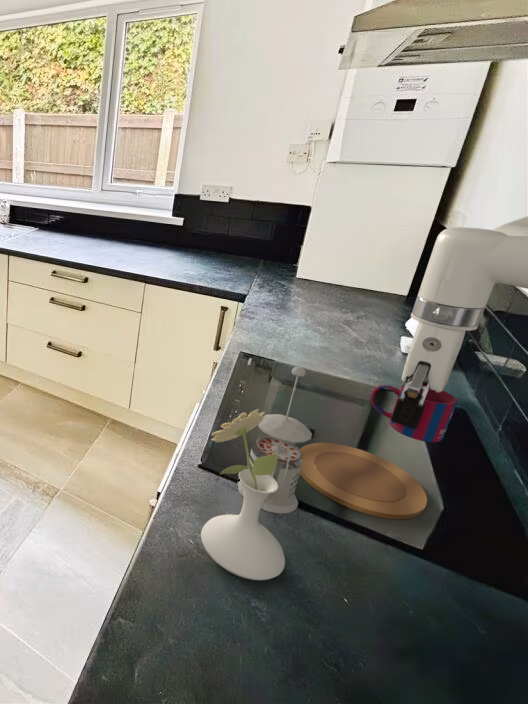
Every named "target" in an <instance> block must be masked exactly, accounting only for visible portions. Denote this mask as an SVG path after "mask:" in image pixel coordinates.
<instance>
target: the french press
mask: <svg viewBox="0 0 528 704" xmlns="http://www.w3.org/2000/svg"><path fill="white" fill-rule="evenodd" d="M291 374H292V375H294V376H296V377H295V381H294V385H293V388H292V393H291V397H290V402H289V404H288V408H287V412H286V415H285V414H280V413H274V414H273V413H272V414H270V413H269V414H264V415H265V417H264V418H263V420H262V421H261V422H260V424H259V425H257V426H258V428H259V430H261V432H263V433H264V434H265V435H262V436H259V437H257V438H256V440H255V442H254V444H253V445H252V446H251V448H250V453H249V461H250V466H251V469H253V463H254V460H255V459H257V458H259V457H263V456H268V455H272V454H276V465H275V469H274V471H273V473H271V474H269V475H270V476H271V477H273V478H274V479H275V480H276V482H277V483H278V489H277V490H276V491H275V492H274V493H271V494H269V495H268V496H267V497H266V498H265V500H264V502H263V504H262V506H261V509H260V510H263V511H266V512H269V513H274V514H289V513H292V512H294V511H295V510H297V508H298V506H299V501H298V498H297V496H296V494H295V491H296V489H297V484H298V481H299V478H300V476H301V474H300V471H301V468H302V464H303V461H302V459H301V458H302V455H303V454H302V452H301V450H300V449H301V448H300V447H299V446H298V445H296V444H302V443H306V442H308V441H309V440H311V439H312V437H313V433H312V431H311V430H310V429H309V428H308V427H307V426H306V425H305V424H304V423H302V422H300V421H299V420H298V419H296V418H295V417H290V416H289V414H290V410H291V406H292V404H293V398H294V395H295V392H296V388H297V384H298V380H299V377H305V376H306V370H305V368H303V367H301V366H295V367H293V368H292V369H291ZM257 453H260V454H257ZM256 454H257V455H256ZM290 463H292V464H294V465H295V466H296V465H297V466H299V467H300V468H297V467H294V466H293V465H291V464H290ZM246 466H247V468H246V469H249V468H248V465H247V464H246ZM237 483H238V484H237ZM237 483H236V486H237V485H238V488H237V490H239V491H238V493H239V494H240V495H241V496H242V497H243V498H244V488H243V485H242V483H241V481H239V482H238V481H237Z"/></svg>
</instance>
